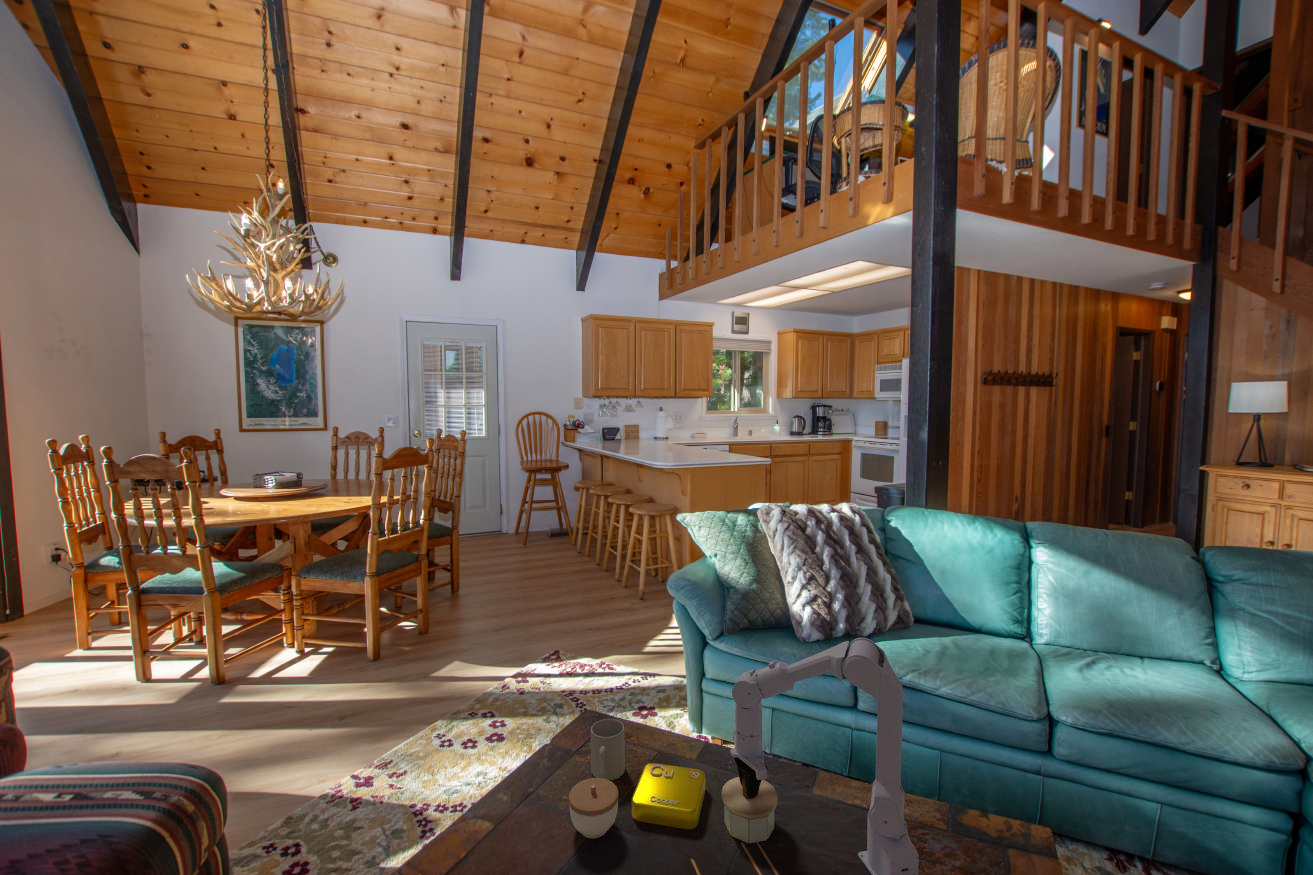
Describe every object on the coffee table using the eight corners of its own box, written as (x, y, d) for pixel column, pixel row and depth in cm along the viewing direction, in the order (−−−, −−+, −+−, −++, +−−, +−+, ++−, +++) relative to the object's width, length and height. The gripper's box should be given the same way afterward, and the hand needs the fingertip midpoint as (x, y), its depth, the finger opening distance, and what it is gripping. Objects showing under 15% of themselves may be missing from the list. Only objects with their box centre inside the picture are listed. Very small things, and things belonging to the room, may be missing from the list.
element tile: (629, 821, 125) (629, 800, 124) (646, 777, 139) (646, 759, 139) (696, 832, 121) (696, 810, 121) (706, 786, 136) (706, 767, 135)
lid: (787, 811, 118) (787, 791, 118) (733, 822, 115) (732, 802, 115) (764, 775, 130) (763, 757, 129) (714, 784, 127) (713, 766, 127)
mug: (595, 758, 146) (594, 717, 146) (627, 760, 145) (627, 719, 145) (584, 789, 135) (583, 745, 134) (619, 791, 134) (618, 747, 133)
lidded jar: (611, 850, 116) (610, 806, 116) (562, 842, 118) (561, 799, 118) (624, 813, 127) (623, 773, 126) (579, 807, 129) (578, 767, 128)
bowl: (780, 837, 119) (780, 814, 119) (735, 845, 117) (735, 822, 116) (761, 804, 129) (761, 783, 128) (719, 812, 126) (719, 790, 126)
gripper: (720, 714, 128) (720, 772, 128) (743, 752, 114) (743, 816, 114) (749, 710, 129) (749, 767, 130) (776, 747, 115) (776, 811, 116)
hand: (749, 790), depth 122 cm, fingers closed on lid, 3 cm apart
